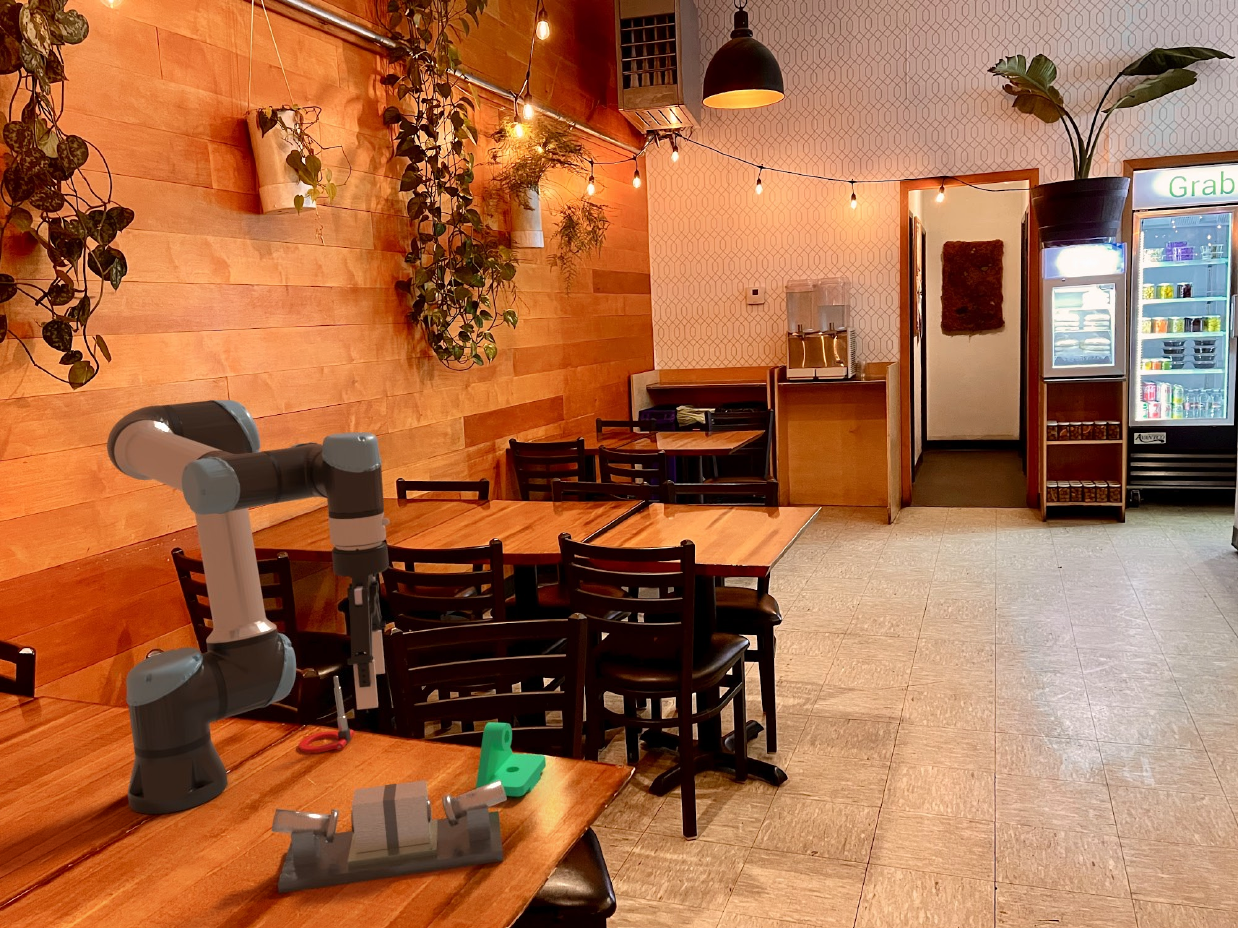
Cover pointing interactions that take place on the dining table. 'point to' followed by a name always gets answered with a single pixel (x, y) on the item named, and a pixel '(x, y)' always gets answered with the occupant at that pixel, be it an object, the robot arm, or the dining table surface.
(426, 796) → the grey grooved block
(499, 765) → the camera mount
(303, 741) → the tow hook
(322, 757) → the dining table surface
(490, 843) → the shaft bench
